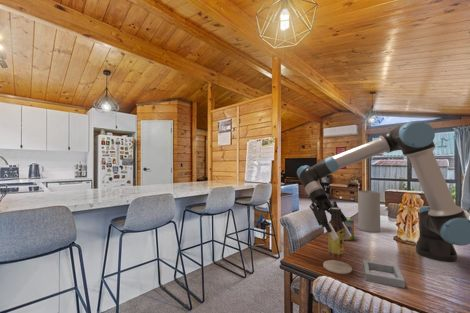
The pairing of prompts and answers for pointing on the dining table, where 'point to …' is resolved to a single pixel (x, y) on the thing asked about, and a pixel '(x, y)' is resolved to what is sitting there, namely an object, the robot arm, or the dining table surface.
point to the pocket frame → (383, 279)
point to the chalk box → (350, 228)
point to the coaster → (337, 267)
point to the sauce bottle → (338, 245)
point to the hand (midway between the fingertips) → (342, 238)
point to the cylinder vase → (369, 211)
